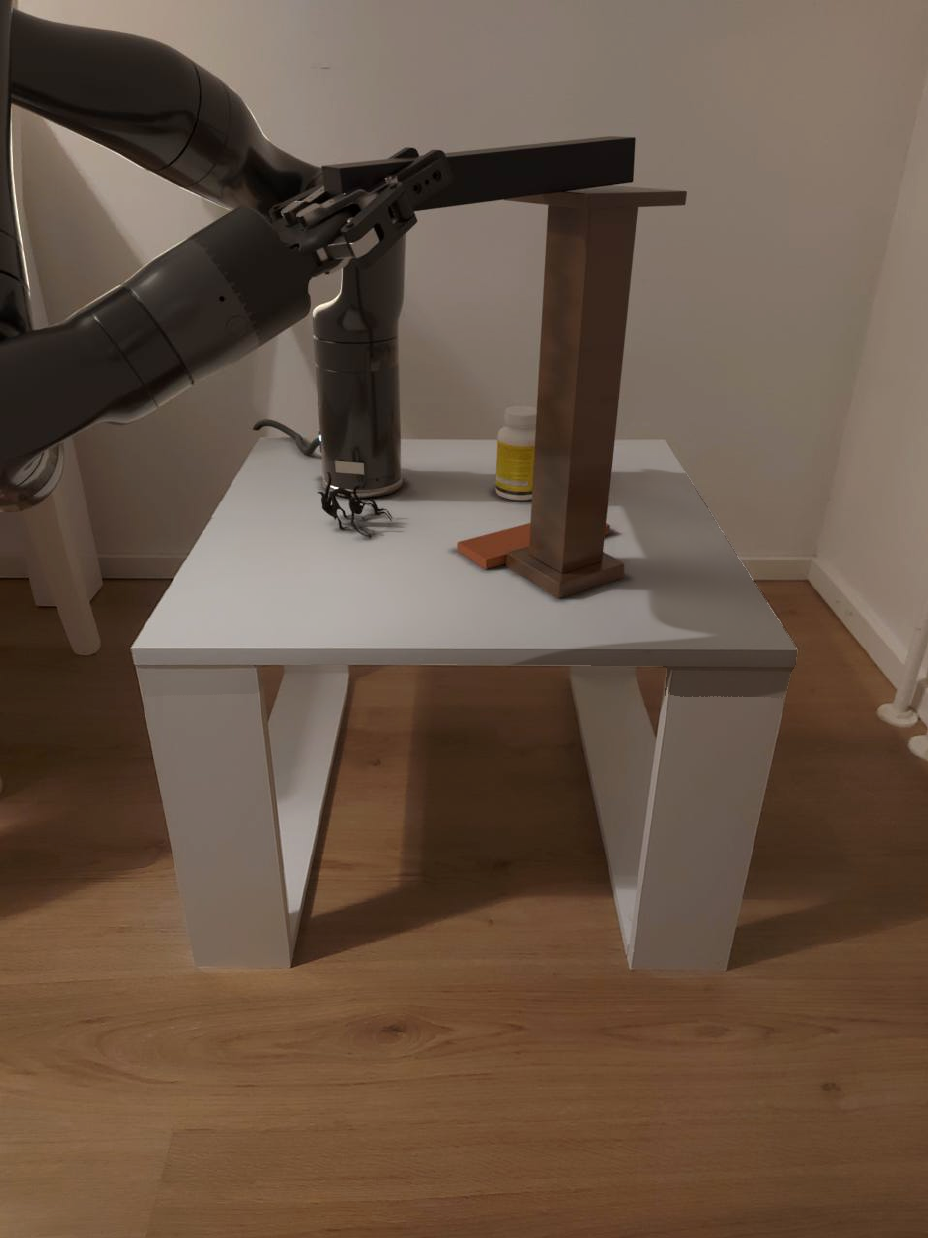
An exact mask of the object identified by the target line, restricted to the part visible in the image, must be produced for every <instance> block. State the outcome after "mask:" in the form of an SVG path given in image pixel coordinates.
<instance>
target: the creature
mask: <svg viewBox="0 0 928 1238" xmlns="http://www.w3.org/2000/svg"><path fill="white" fill-rule="evenodd" d="M327 473H328V477H329V479H328V484H327V487H326V490H325V489H324V490H325V491H324V492H322V491H318V492H317V494H319V495H320V496H321V497H320V502H321V509H322V510H323V511H324V512H325V513H326V514H327V515H328V516H330V517H332V518H333V519H334V520H335V521H338V527H339V530H342V531H343V530H345V529H349V527H348V526H344V527H343V525H342V520H341V519H340V518H339V515H338V510H340V511H341V512H342V515H343V518H344V519H348V518H350V517H351V518H350V525H351V526H352V528H353V530H355V531H356V532H358V533H359V534H361V535H363V536H364V537H369V538H370V537H372V535H371V534H370V533H369V532H368V531H366V530H365V529H364V528H362V527H361V526H359V527H357V526H356V524H355V522H354V520H355V516H356V515H361V514H362V513H363V511H364V508H365V506H366V505H367V506H369V507H371V508H372V509H373V510H374V511H373V512H374V513H370V514H367V515H365V516H360V518H361V519H362V520H364V519H365V518H367V517H369V516H374V515H376V516H379V515H382V514H385V516H387V518H388V519H389V520H390V521H391V522H392V520H393V516H392V514H391V513H390V511H389V510H388V509H386V508H383V507H381V508H379V506H378V504H377V502H376V501H375V500H373V499H372V498H370V499H367V500H365V501H362V500H361V499H362V498H361V497H360V498H359V497H358V496H357V495H356V493H357V492H358V491H357V492H356V489H358V488H359V487H361V485H357V486H355V487H354V488H353V492H350V491H348V490H346V489H343V488H338V489H336V490H334V491H332V492H329V489H330V486H331V481H332V480H331V475H330V473H329V472H327ZM367 483H368V482H367ZM367 483H366V484H367ZM366 484H364V485H363V486H362V487H361V488H363V489H364V487H365V485H366ZM359 489H360V488H359ZM362 492H363V490H362ZM338 493H339V494H344V495H345V496H346V497H345V496H344V497H345V498H347V499H348V509H349V510H350V512H351V514H349V515H347V513H346V510H345V509H343V508H342V506H341V505H340V504H339V502H338V500H337V497H336V496H338V495H337V494H338ZM351 494H354V497H352V495H351ZM361 495H362V494H361ZM361 504H362V505H361ZM359 529H360V530H362V531H363V532H365V533H366V534H364V533H363V532H361V531H360V530H359Z"/></svg>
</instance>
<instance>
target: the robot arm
mask: <svg viewBox="0 0 928 1238" xmlns="http://www.w3.org/2000/svg"><path fill="white" fill-rule="evenodd" d="M13 3H14V1H13V0H0V513H17V512H23V511H27V510H30V509H32V508H34V507H37V506H38V505H39V504H41V503H43V502H44V501H46V499H48V498H49V497H50V496H51V495H52V494H53V492H54V491H55V489H56V488H57V486H58V484H59V482H60V480H61V477H62V475H63V471H64V467H65V457H66V455H65V441H66V440H69V439H70V438H72V437H75V436H76V435H79V434H80V433H82V432H84V431H86V430H88V429H90V428H92V427H94V426H96V425H98V424H103V423H104V424H109V425H113V426H126V425H129V424H132V423H136V421H139V420H141V419H143V418H145V417H147V416H148V415H150V414H152V413H153V412H155V411H156V410H157V409H160V407H162V406H163V405H165V404H166V403H168V402H169V401H171V400H173V399H174V398H175V397H177V396H179V395H181V394H182V393H184V392H185V391H187V390H188V389H190V388H191V387H192V386H194V385H196V384H199V382H202V381H204V380H206V379H208V378H210V377H212V376H215V375H217V374H219V373H221V372H223V371H224V370H226V369H228V368H230V367H231V366H233V365H234V364H237V362H239V361H240V360H242V359H243V358H245V357H247V356H248V355H249V354H251V353H253V352H254V351H256V350H258V349H259V348H261V347H262V346H263V345H265V344H266V343H268V342H269V341H271V340H272V339H275V338H276V337H277V336H279V335H280V334H282V333H283V332H285V331H286V330H288V329H290V328H291V327H293V326H294V325H296V324H297V323H298V322H300V321H302V320H303V319H305V318H306V317H308V315H309V314H310V312H311V309H312V298H311V294H310V292H309V285H310V281H311V280H312V279H313V278H317V277H319V276H321V275H323V274H324V275H325V276H329V275H332V274H334V273H337V272H338V271H340V270H341V287H340V291H339V293H338V295H337V296H336V297H335V298H334V299H332V300H329V301H327V302H324V303H320V304H319V305H317V306H316V307H315V309H313V312H312V332H313V333H312V334H313V347H314V348H313V349H314V358H315V359H314V361H315V374H316V375H315V376H316V377H315V378H316V388H317V413H318V428H319V431H318V432H317V433H318V437H317V438H314V439H313V440H312V442H310V444H309V445H308V446H306V444H305V443H304V439H303V436H302V435H301V434H300V433H298V432H296V431H295V430H293V429H291V428H290V427H289V426H287V425H285V424H283V423H282V422H279V421H277V420H273V419H270V418H269V419H268V418H264V419H261V420H258V421H257V422H256V423H255V424H254V425H253V427H252V431H260V430H261V429H262V428H264V427H270V428H274V429H276V430H278V431H280V432H283V434H285V435H286V436H289V437H290V438H292V439H293V440H294V441H295V445H296V447H297V448H298V450H299V451H300V453H302V454H303V455H305V456H310V455H312V454H314V452H315V451H316V450H317V448H319V452H320V458H321V471H322V487H323V489H324V490H326V487H327V484H328V479H329V477H328V473H327V472H329V473H330V475H331V480H332V481H331V486H330V489H329V493H330V492H332V491H334V490H336V489H338V488H343V489H346V490H348V491H350V492H353V488H354V487H355V486H357V485H361V487H362V486H363V485H364V484H366V483H367V482H368V483H367V484H366V485H365V487H364V489H363V488H361V487H359V488H360V489H359V488H358V489H356V492H357V491H358V492H357V493H356V495H357V496H358V497H359V499H360V497H361V499H362V498H363V499H364V498H365V499H366V498H367V499H368V498H376V497H382V496H385V495H389V494H393V493H395V492H396V491H398V490H399V489H401V488H402V486H403V484H404V483H403V472H402V430H401V429H402V427H401V387H400V386H401V384H400V383H401V382H400V381H401V380H400V344H399V343H400V342H399V339H400V338H399V332H400V331H399V325H400V324H399V323H400V318H401V314H402V310H403V307H404V301H405V287H406V286H405V285H406V281H405V280H406V255H407V253H406V252H407V251H406V250H407V233H408V232H409V231H410V230H411V229H412V228H413V227H414V226H415V225H416V224H417V223H418V218H417V216H416V213H415V211H413V208H414V207H415V206H417V205H418V204H420V203H421V202H423V201H425V200H426V199H428V198H429V197H431V196H432V195H434V194H435V193H437V192H439V191H440V190H442V189H443V188H445V187H446V186H448V185H449V184H450V183H451V182H452V178H453V176H452V172H451V169H450V167H449V164H448V161H447V158H446V156H445V153H446V152H444V151H443V150H441V149H431V150H429V151H428V152H426V153H425V154H423V156H422V155H421V156H422V157H420V158H418V159H417V160H415V161H414V162H412V163H410V164H409V165H407V166H406V167H404V168H402V169H401V170H399V171H398V172H396V173H395V174H393V175H392V176H391V175H389V176H387V177H385V178H384V179H383V180H381V181H380V182H378V183H376V184H374V185H372V186H371V187H369V188H368V189H366V190H362V189H361V188H359V187H353V188H352V189H350V190H349V191H347V192H345V193H344V194H339V195H337V196H335V197H333V198H332V199H330V200H328V201H326V200H327V198H326V191H324V185H323V177H322V169H321V166H318V165H314V164H312V163H309V162H307V161H304V160H302V159H300V158H298V157H296V156H294V155H293V154H291V153H289V152H287V151H285V150H284V149H282V148H280V147H279V146H277V145H276V144H274V143H273V142H272V141H270V139H268V138H267V136H266V135H265V134H264V132H263V131H262V129H261V127H260V125H259V123H258V122H257V121H258V120H257V119H256V118H255V116H254V114H253V112H252V110H251V109H250V108H249V106H248V105H247V104H246V102H245V101H244V99H243V98H242V97H241V96H240V95H239V94H238V93H237V92H236V91H235V89H233V88H232V87H231V86H230V85H228V84H227V83H226V82H225V81H223V80H222V79H220V78H219V77H218V76H216V75H215V74H213V73H212V72H210V71H209V70H208V69H206V68H205V67H203V66H202V65H200V64H198V63H197V62H195V61H194V60H192V59H191V58H190V57H188V56H187V55H185V54H184V53H182V52H181V51H179V50H178V49H176V48H175V47H173V46H171V45H168V44H167V43H164V42H162V41H160V40H157V39H154V38H150V37H146V36H143V35H138V34H135V33H129V32H124V31H117V30H111V29H102V28H96V27H88V26H82V25H76V24H68V23H63V22H57V21H52V20H49V19H45V18H42V17H37V16H34V15H32V14H30V13H26V12H25V11H21V10H19V9H17V8H15V7H13V5H14V4H13ZM12 105H13V106H15V107H19V109H22V110H25V111H28V112H30V113H32V114H34V115H36V116H39V117H40V118H43V119H45V120H47V121H49V122H51V123H53V124H54V125H57V126H59V127H61V128H62V129H66V130H68V131H69V132H71V133H74V134H76V135H77V136H80V137H82V138H84V139H86V140H88V141H89V142H92V143H94V144H96V145H99V146H100V147H103V148H104V149H107V150H109V151H111V152H113V153H114V154H116V155H118V156H120V157H121V158H123V159H125V160H127V161H129V163H132V164H133V165H136V166H137V167H139V168H140V169H143V170H144V171H146V172H148V173H150V174H153V175H155V176H156V177H158V178H160V179H162V180H164V181H166V182H167V183H170V184H172V185H174V186H176V187H178V188H180V189H182V190H184V191H187V192H188V193H191V194H193V195H195V196H198V197H200V198H202V199H204V200H205V201H208V202H210V203H212V204H215V205H217V206H219V207H221V208H224V209H226V210H228V211H229V212H227V213H225V214H223V215H222V216H221V217H219V218H217V219H216V220H214V221H212V222H211V223H209V224H208V225H206V226H204V227H203V228H201V229H199V230H198V231H196V232H194V233H193V234H191V235H189V236H188V237H186V238H185V239H183V240H181V241H180V242H178V243H176V244H175V245H173V246H171V247H169V248H168V249H167V250H165V251H163V252H161V253H160V254H158V255H157V256H155V257H154V258H153V259H151V260H150V261H148V262H147V263H146V264H144V265H143V266H142V267H141V268H140V269H139V270H137V271H136V272H135V273H134V274H132V276H130V277H129V278H128V279H126V280H125V281H123V282H122V283H121V284H119V285H117V286H115V287H113V288H112V289H110V290H109V291H107V292H105V293H103V294H102V295H101V296H99V297H97V298H96V299H94V300H93V301H91V302H89V303H88V304H86V305H84V307H81V308H80V309H78V310H77V311H75V312H74V313H72V314H71V315H70V316H69V317H67V318H66V319H63V320H62V321H60V322H56V323H54V324H51V325H47V326H44V327H40V328H35V325H34V315H33V303H32V296H31V289H30V283H29V276H28V270H27V263H26V256H25V251H24V244H23V238H22V233H21V225H20V220H19V213H18V212H19V211H18V203H17V197H16V186H15V178H14V177H15V176H14V158H13V157H14V156H13V133H12V127H13V126H12V125H13V123H12ZM412 156H420V154H419V152H418V149H416V148H415V147H410V146H408V147H403V148H402V149H400V150H399V151H397V152H396V153H394V154H393V155H391V156H389V157H388V158H387V159H392V158H402V157H412ZM325 201H326V202H325ZM352 203H355V204H356V206H357V209H358V211H359V213H358V214H357V215H356V216H355V214H354V212H353V210H352V207H351V205H350V204H352ZM389 207H390V209H391V212H390V213H389V212H388V208H389ZM362 490H363V492H362ZM361 494H362V495H361ZM351 495H352V497H354V494H351ZM336 496H340V497H345V498H347V497H346V496H345V495H344V494H339V493H338V494H337V495H336Z"/></svg>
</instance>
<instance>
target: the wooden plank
mask: <svg viewBox="0 0 928 1238" xmlns="http://www.w3.org/2000/svg"><path fill="white" fill-rule="evenodd" d="M610 528H611V525H610V524H609V523H608V522H606V530H605V536H606V535H609V534H610V530H611V529H610ZM529 540H530V522H528V523H525V524H521V525H517V526H514V527H513V526H512V527H509V528H505V529H502V530H498V531H493V532H490V533H487V534H482V535H480V536H475V537H471V538H468V539H464V540H459V541H457V548H456V550H457V552H458V553H460V554H461V555H463V556H464V557H466V558H467V559H469V560H470V561H472V562H474V563H476V564H477V565H478V566H480V567H482V568H483V569H485V570H488V569H492V568H495V567H499V566H502V565H506V557H507V552H511V551H514V550H518V549H521V548H525V547H528V546H529Z"/></svg>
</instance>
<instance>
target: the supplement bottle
mask: <svg viewBox="0 0 928 1238" xmlns="http://www.w3.org/2000/svg"><path fill="white" fill-rule="evenodd" d="M536 414H537V407H533V406H528V405H514V406H509V407H507V408H505V409H504V424H505V426H503V427H502V428H500V429H499V430H498V431H497V432H498V433H497V438H496V440H497V441H496V460H495V479H494V481H495V483H494V491H495V493H496V494H497V496H499V497H500V498H503V499H506V500H512V501H530V500H532V486H533V468H534V450H535V432H536Z"/></svg>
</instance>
